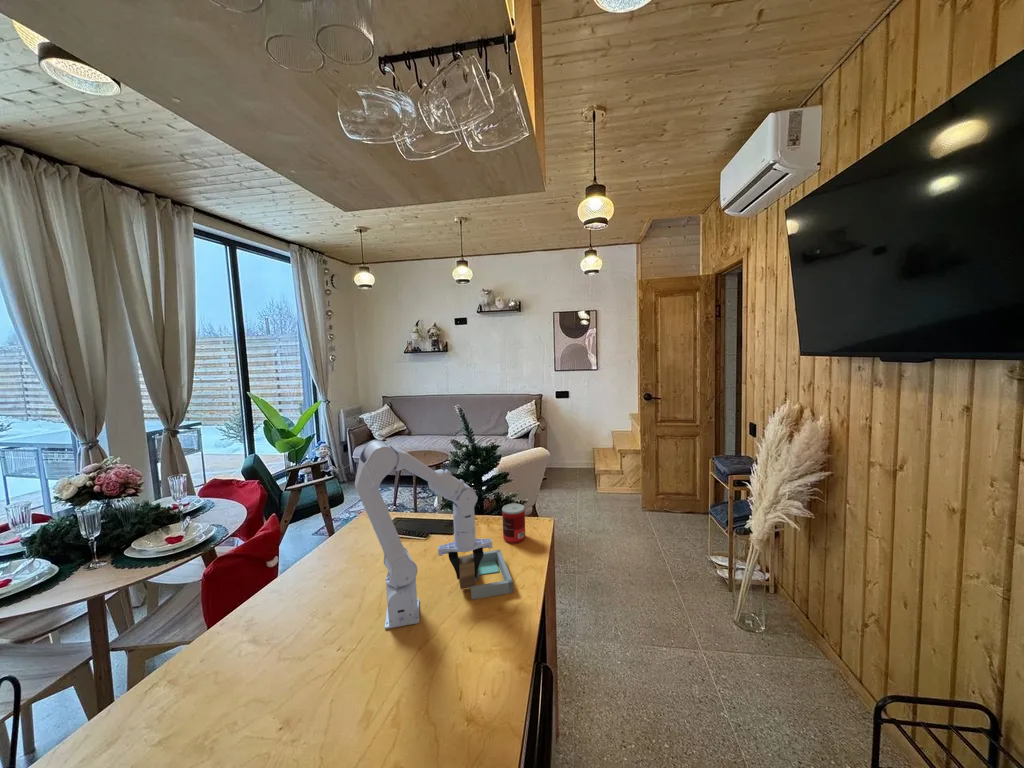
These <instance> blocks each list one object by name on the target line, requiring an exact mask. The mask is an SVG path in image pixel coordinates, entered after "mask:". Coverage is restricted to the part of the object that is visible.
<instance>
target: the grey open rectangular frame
mask: <svg viewBox="0 0 1024 768" xmlns="http://www.w3.org/2000/svg"><path fill="white" fill-rule="evenodd" d="M483 552H484V554H483V557H482V559H481V561H480V563H484V562H490V561H496V563H497V566H498V568H499V571H500V573H501V575H502V578H503V580H501V581H496V582H495V581H494V582H488V583H483V584H475V586H471V588H470V594H471V595H470V596H471V600H473V601H474V600H478V599H484V598H490V597H497V596H500V595H502V596H503V595H509V594H512V593H514V581H513V578H512V575H511V574H510V571H509V568H508V566H507V563H506V561H505V559H504V558H505V557H504V556H503V554H502V551H501V550H500V549H496V550H495V549H494V550H489V551H483ZM469 555H473V553H470V554H469ZM477 581H480V575H479V573H478V572H477V576H476V577H475V582H477Z"/></svg>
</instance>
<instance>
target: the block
mask: <svg viewBox="0 0 1024 768" xmlns="http://www.w3.org/2000/svg"><path fill="white" fill-rule="evenodd" d="M458 558H459V574H460V579H458V582H459V588H460V589H459V590H465V589H469V588H470V589H471V586H476V581H475V568H474V559H473V555H470V554H469V555H467V554H466V555H462V556H461V555H460V556H458Z"/></svg>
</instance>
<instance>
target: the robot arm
mask: <svg viewBox="0 0 1024 768" xmlns="http://www.w3.org/2000/svg"><path fill="white" fill-rule="evenodd" d="M392 470H394V471H395V472H399V471H403V470H406V471H407V472H409V473H412V474H414V475H415V476H416V477H419V478H421V479H423V480H424V481H426V482H427V485H428V488H429V490H431V491H433V492H434V493H436V494H438V495H439V496H441V497H443V498H444V499H446V500H448V501H451V502H452V516H453V535H454V536H453V537H454V539H453V540H454V541H451V542H448V543H445V544H442V545H438V546H437V552H438V553H437V554H438V557H441V556H443V555H447V554H448V560H449V562H450V563H451V564H452V566H453V569H454V571H455V575H456V579H457V580H459V579H460V574H459V558H458V557H459V553H468V552H472V554H473V559H474V568H475V577H476V576H477V572H478V567H479V564H480V561H481V559H482V557H483V554H484V552H485V551H484V549H489V550H490V549H493V540H492V538H476V521H475V520H476V517H475V516H476V515H475V513H476V512H475V507H476V504H477V502H478V499H479V497H478V495H477V493H476V491H475V489H474V488H472V487H470V486H469V484H467V483H465V480H463V479H461V478H460V479H458V478H456V476H453V475H452V472H451V471H450V470H448V469H445V470H444V469H436V470H433V469H432V468H431V467H429V466H428V465H426V464H424V463H423V462H422V461H420V460H419V459H417V458H416V457H414V456H412V455H411V454H409V453H408V452H406V451H405V450H402V449H400V448H399V447H396V446H394V445H393V444H389V446H388V444H387V442H385V441H384V440H381V439H373V440H371V441H369V442H367V443H366V444H365V446H364V447H363V449H362V450H361V452H360V453H359V455H358V466H357V470H356V476H355V480H354V487H355V489H356V493H357V494H358V497H359V499H360V501H361V504H362V505H363V508H364V511H365V512H366V515H367V517H368V519H369V522H370V523H371V526H372V529H373V531H374V534H375V535H376V537H377V540H378V542H379V545H380V546H381V550H382V552H383V564H384V566H385V568H386V569H387V574H386V576H385V586H386V588H385V590H386V602H387V603H386V604H387V605H386V613H385V621H384V629H386V630H388V629H394V628H399V627H405V626H409V625H415V624H419V622H420V598H419V597H418V595H417V594H418V593H417V592H418V591H417V578H416V577H417V574H418V566H417V564H416V562H415V561H414V560H413V559H412V556H410V554H409V551H408V549H407V548H406V547H405V546H404V545H403V543H402V540H401V538H400V536H399V533H398V531H397V528H396V526H395V524H394V522H393V519H392V517H391V514H390V513H389V510H388V508H387V506H386V503H385V500H384V498H383V496H382V493H381V491H380V489H379V487H380V485H381V483H382V481H383V480H384V479H385V478H386V476H388V475H389V474H390V473H391V472H392Z"/></svg>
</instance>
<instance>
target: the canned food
mask: <svg viewBox="0 0 1024 768" xmlns="http://www.w3.org/2000/svg"><path fill="white" fill-rule="evenodd" d="M501 511H502V512H501V513H502V537H503V540H504V541H505V542H506V543H508V544H520V543H521V542H523V541H524V540H525V538H526V515H525V514H526V512H525V505H523V504H520V503H515V502H514V503H508V504H505V505H503V506H502V509H501Z"/></svg>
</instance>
